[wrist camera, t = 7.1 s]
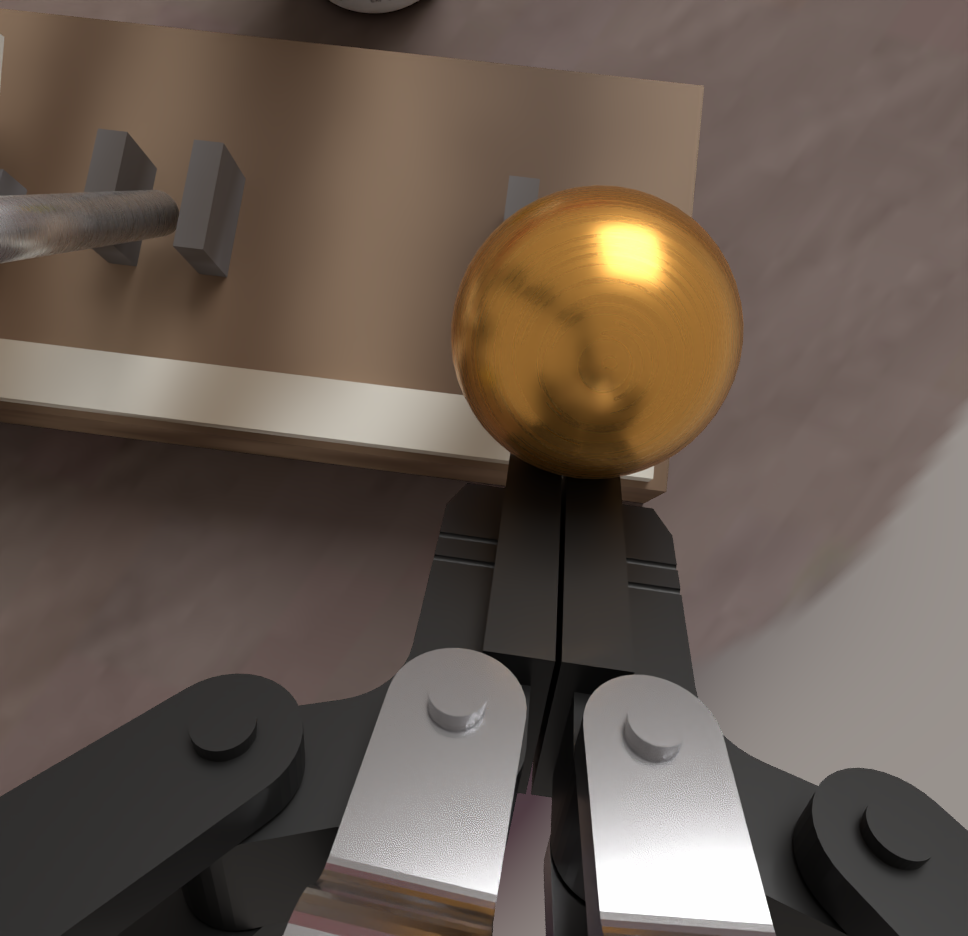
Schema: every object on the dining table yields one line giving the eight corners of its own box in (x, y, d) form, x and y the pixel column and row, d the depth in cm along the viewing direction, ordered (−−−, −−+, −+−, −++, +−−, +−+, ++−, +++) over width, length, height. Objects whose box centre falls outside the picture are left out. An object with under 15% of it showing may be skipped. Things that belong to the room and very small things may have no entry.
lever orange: (493, 316, 21) (420, 503, 8) (508, 184, 20) (448, 162, 7) (617, 331, 21) (739, 543, 8) (639, 199, 19) (822, 204, 7)
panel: (-144, 403, 24) (-300, 360, 19) (-56, 62, 26) (-180, -56, 21) (643, 503, 23) (683, 483, 19) (678, 144, 25) (722, 42, 20)
